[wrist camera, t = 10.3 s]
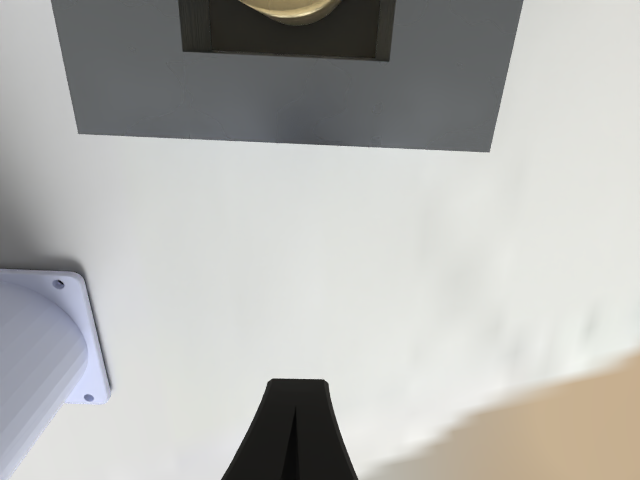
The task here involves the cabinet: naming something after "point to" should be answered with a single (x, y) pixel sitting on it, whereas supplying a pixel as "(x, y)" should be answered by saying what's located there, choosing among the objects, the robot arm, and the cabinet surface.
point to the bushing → (294, 10)
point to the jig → (289, 77)
